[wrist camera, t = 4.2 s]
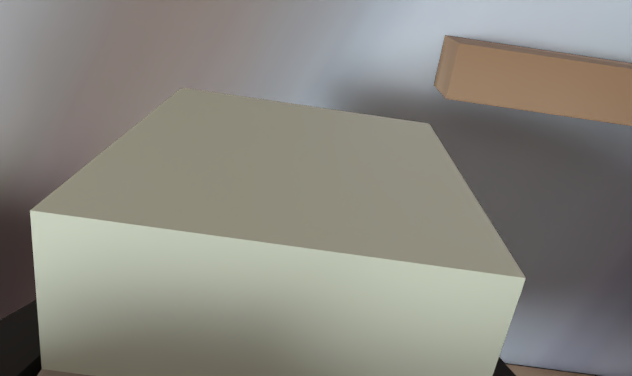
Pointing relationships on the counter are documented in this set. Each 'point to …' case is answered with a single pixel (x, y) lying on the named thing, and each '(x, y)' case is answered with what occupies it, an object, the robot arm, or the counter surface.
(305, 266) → the cabinet box
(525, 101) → the tan piece
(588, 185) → the counter surface
